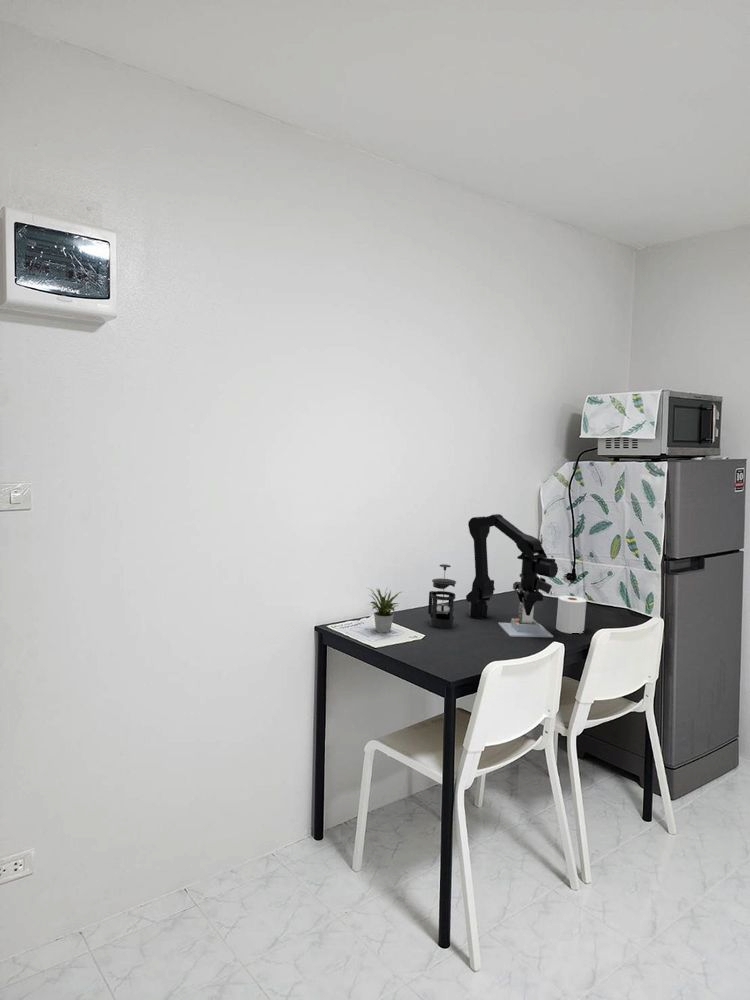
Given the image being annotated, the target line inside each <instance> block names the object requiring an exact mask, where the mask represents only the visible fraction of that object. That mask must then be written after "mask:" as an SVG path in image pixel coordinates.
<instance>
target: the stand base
mask: <svg viewBox="0 0 750 1000" xmlns="http://www.w3.org/2000/svg"><path fill="white" fill-rule="evenodd" d="M518 619H519V618H511V620H510V622H498V625H499V626H500V627H501V629H502V630H503V631H504V632H505V633H506V634H507V635H508V636H509V637H512V638H513V637H515V638H516V637H517V638H519V637H520V638H523V637H524V638H554V635H553V634H552V633H551V632H550V631H548V630H547V629H546V628H545V627H544V626H543V625H541V623H538V622H537V621H536V620H535V619H534V618H533V624H521V623H519V620H518Z"/></svg>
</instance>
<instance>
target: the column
mask: <svg viewBox="0 0 750 1000" xmlns="http://www.w3.org/2000/svg"><path fill="white" fill-rule="evenodd" d="M534 608H535V604H534V605H533V608H532V610H531V613H530V615H529V616H527V615H526V612H525V608H524V604H523V602H519V603H518V612H517V619H518V620H519V623H521V624H533V619H534V611H535V610H534Z"/></svg>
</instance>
